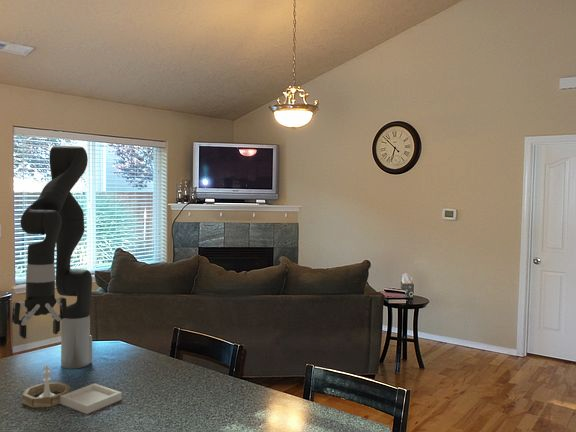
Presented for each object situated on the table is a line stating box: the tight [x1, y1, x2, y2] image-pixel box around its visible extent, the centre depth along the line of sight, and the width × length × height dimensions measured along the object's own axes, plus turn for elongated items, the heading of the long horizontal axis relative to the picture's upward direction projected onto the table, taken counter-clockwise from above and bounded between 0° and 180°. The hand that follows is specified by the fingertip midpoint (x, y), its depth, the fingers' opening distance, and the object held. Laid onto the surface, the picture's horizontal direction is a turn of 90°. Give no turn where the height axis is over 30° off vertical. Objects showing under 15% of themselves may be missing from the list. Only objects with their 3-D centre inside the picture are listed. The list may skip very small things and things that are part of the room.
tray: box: [60, 382, 123, 415], centre depth 155 cm, size 12×12×2 cm
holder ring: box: [22, 381, 71, 408], centre depth 156 cm, size 12×12×2 cm
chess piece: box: [37, 364, 56, 397], centre depth 156 cm, size 5×5×10 cm
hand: (39, 335), depth 153 cm, fingers open, 8 cm apart
